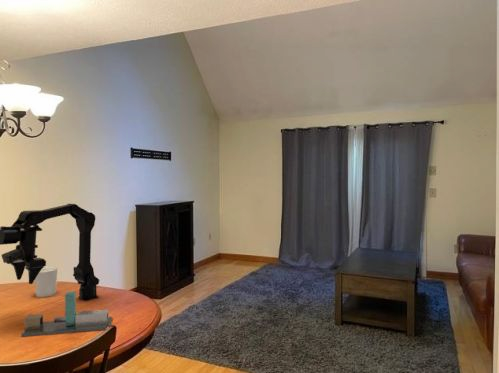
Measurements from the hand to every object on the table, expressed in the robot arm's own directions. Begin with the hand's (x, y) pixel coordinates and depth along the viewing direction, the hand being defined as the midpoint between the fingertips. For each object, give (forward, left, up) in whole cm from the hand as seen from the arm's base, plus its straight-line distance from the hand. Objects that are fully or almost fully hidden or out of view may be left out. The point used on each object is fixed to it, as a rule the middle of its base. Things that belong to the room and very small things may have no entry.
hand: (24, 281), depth 148 cm
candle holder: (-18, -23, -15) cm, 32 cm away
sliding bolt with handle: (-9, +26, -13) cm, 31 cm away
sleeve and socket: (-6, +24, -14) cm, 29 cm away
